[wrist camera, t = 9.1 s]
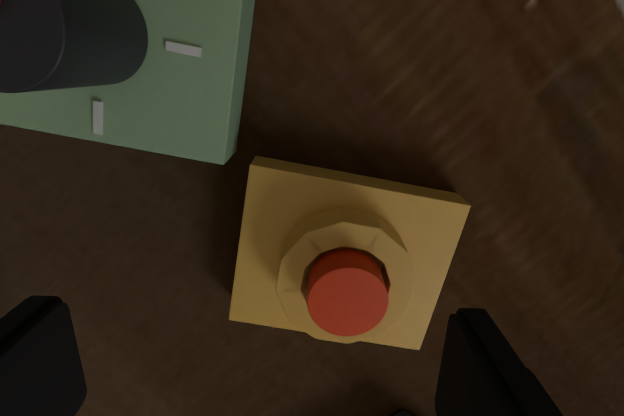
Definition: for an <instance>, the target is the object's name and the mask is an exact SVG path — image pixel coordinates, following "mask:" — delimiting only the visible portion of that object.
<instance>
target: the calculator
mask: <svg viewBox="0 0 624 416" xmlns="http://www.w3.org/2000/svg"><path fill="white" fill-rule="evenodd" d="M394 416H412V415H411V414H410V413H409V412H407V411H405V410H402V411H399V412H398V413H396V414H395V415H394Z"/></svg>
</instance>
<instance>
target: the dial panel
mask: <svg viewBox="0 0 624 416" xmlns="http://www.w3.org/2000/svg"><path fill="white" fill-rule="evenodd" d="M135 2H136V3H137V5H138V6H139V8H140V10H141V12H142V14H143V17H144V19H145V23H146V26H147V32H148V48H147V53H146V56H145V59H144V61H143V63H142V65H141V67H140V68H139V69H138V71H137V72H136V73H135V74H134V75H133V76H131V77H130V78H129V79H127V80H125V81H123V82H120V83H117V84H111V85H101V86H89V87H78V88H67V89H55V90H44V91H33V92H22V93H1V92H0V124H4V125H10V126H15V127H21V128H26V129H31V130H37V131H42V132H48V133H53V134H58V135H64V136H69V137H75V138H80V139H85V140H91V141H96V142H102V143H107V144H113V145H118V146H123V147H129V148H134V149H140V150H145V151H150V152H156V153H161V154H167V155H172V156H177V157H183V158H188V159H194V160H199V161H205V162H210V163H215V164H221V165H224V164H225V163H226V162H227V161H228V160H229V158H230V157H231V156H232V155H233V154H234V153H235V152H236V150H237V142H238V134H239V126H240V118H241V110H242V102H243V94H244V85H245V77H246V69H247V61H248V53H249V45H250V37H251V29H252V21H253V12H254V4H255V0H135Z"/></svg>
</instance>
